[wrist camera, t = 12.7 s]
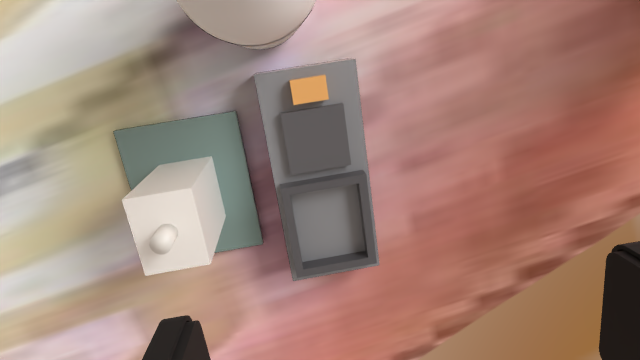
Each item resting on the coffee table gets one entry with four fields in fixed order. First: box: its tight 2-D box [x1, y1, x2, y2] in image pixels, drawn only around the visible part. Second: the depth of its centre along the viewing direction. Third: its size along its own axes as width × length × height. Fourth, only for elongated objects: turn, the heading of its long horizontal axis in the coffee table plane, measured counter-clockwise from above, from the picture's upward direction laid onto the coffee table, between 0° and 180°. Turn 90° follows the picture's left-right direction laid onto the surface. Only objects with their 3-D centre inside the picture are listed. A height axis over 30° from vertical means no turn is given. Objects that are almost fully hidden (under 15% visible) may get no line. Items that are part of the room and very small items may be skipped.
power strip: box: [254, 59, 379, 281], centre depth 31 cm, size 7×16×4 cm, turn 8°
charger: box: [122, 156, 226, 276], centre depth 28 cm, size 4×5×10 cm
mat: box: [113, 111, 263, 253], centre depth 32 cm, size 9×11×1 cm
